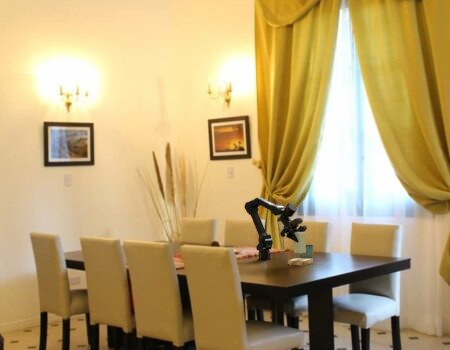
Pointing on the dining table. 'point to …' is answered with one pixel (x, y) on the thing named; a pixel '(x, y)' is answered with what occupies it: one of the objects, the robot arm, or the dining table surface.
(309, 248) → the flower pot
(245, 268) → the dining table surface
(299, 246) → the tea tin
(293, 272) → the dining table surface
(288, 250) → the dining table surface
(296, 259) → the tan square coaster
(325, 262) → the dining table surface
